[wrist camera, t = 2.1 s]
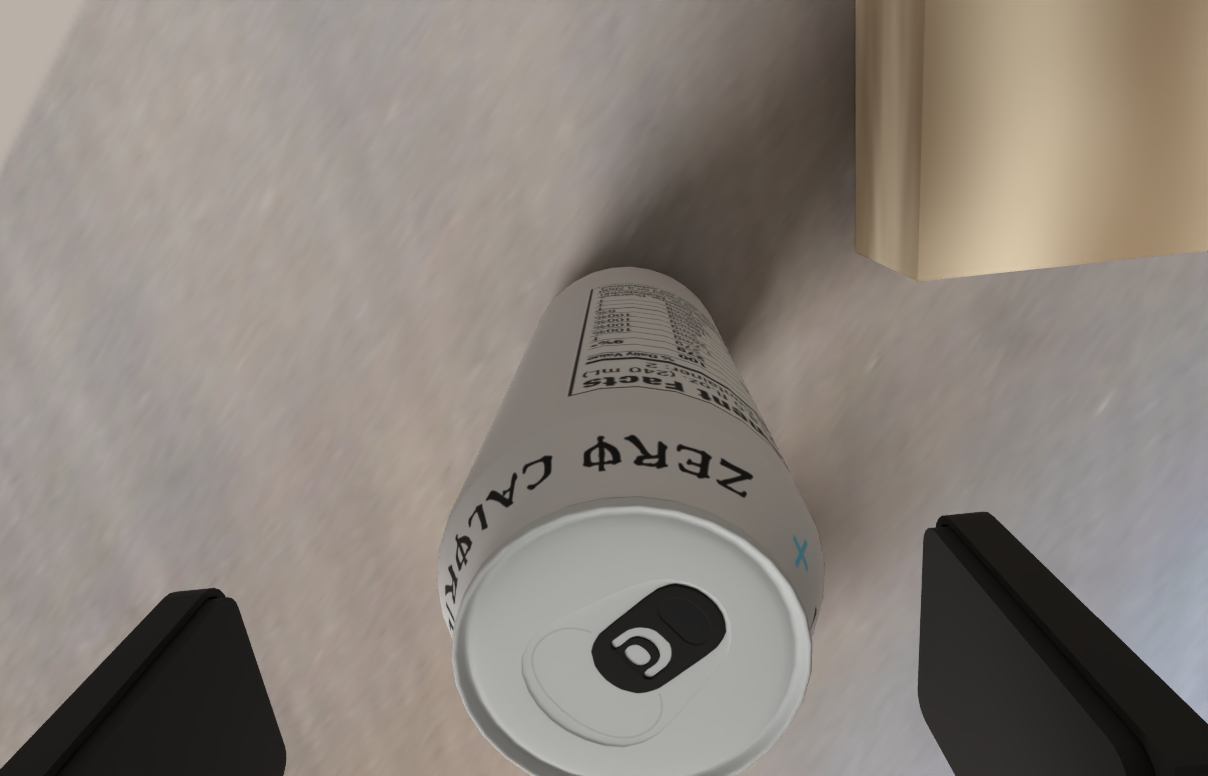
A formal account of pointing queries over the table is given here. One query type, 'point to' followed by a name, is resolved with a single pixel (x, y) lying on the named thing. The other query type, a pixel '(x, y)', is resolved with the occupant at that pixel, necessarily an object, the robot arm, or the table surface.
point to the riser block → (1029, 133)
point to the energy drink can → (630, 549)
